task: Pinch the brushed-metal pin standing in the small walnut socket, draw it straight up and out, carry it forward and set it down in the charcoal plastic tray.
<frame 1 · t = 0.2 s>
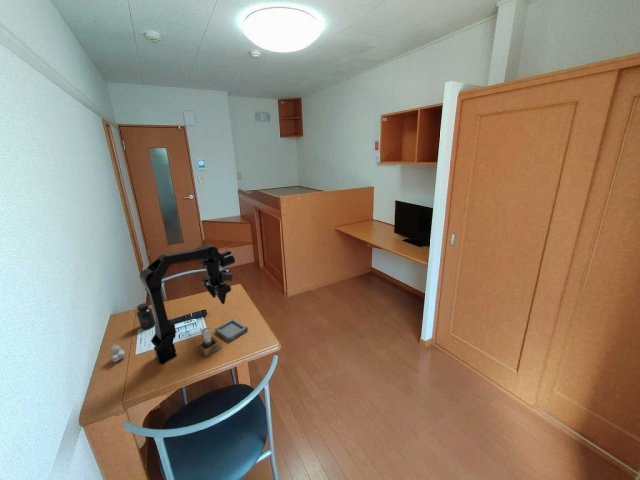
hand: (218, 300, 133), 14 cm above the table, fingers open, 9 cm apart
socket: (209, 349, 122), on the table
tray: (231, 331, 133), on the table
pin: (207, 339, 120), in the socket
grey knobbly cluster: (118, 360, 119), on the table
supplement bottle: (148, 326, 142), on the table
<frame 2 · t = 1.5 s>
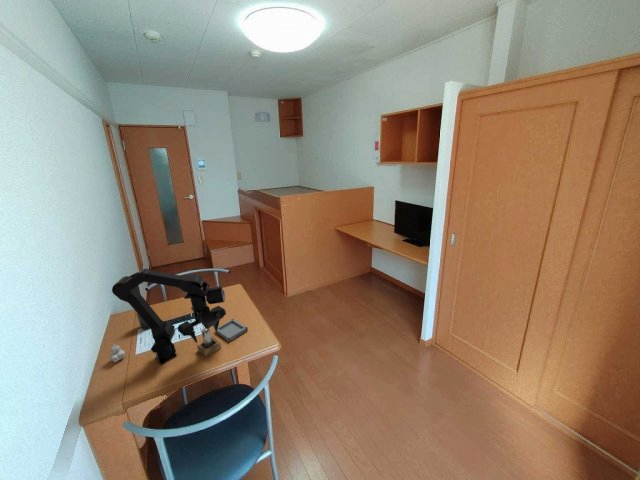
hand: (206, 336, 120), 7 cm above the table, fingers open, 9 cm apart
nothing on the table moved.
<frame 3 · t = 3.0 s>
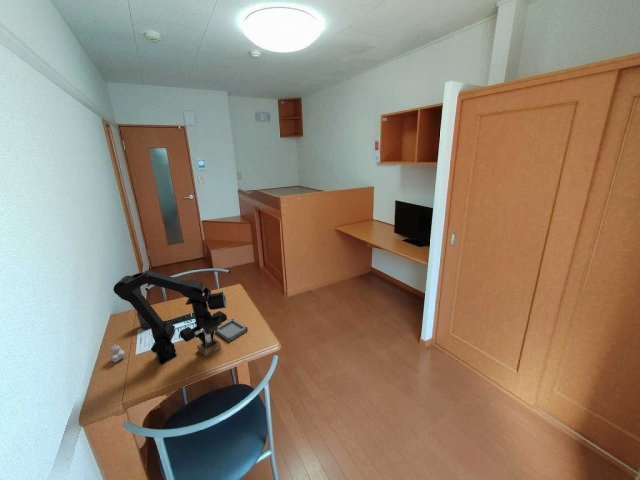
hand: (208, 341, 121), 4 cm above the table, fingers closed on pin, 3 cm apart
pin: (207, 339, 120), in the socket, touching gripper
everything else where it was.
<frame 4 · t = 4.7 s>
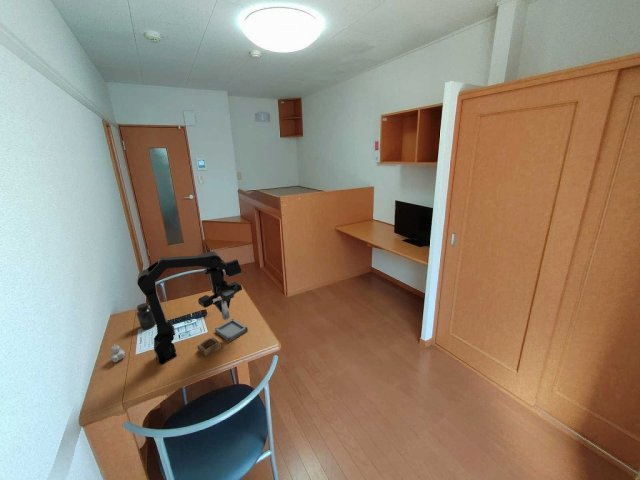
hand: (224, 310, 127), 13 cm above the table, fingers closed on pin, 3 cm apart
pin: (224, 308, 127), point 14 cm above the table, touching gripper
everything else where it was.
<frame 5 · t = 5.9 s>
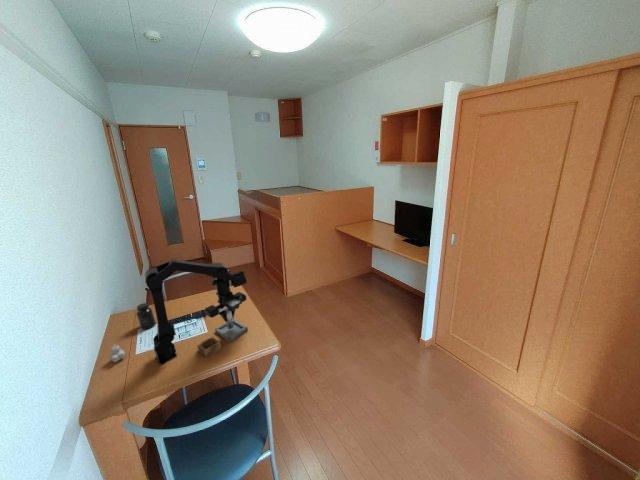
hand: (229, 319, 131), 7 cm above the table, fingers closed on pin, 3 cm apart
pin: (229, 317, 130), point 8 cm above the table, touching gripper
everything else where it was.
when the fingers open (6 cm above the table, at t = 6.7 s): pin stays where it is, resting on tray.
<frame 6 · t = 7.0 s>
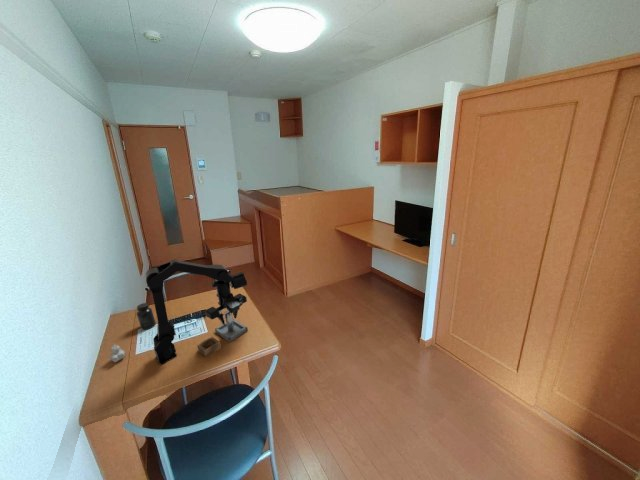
hand: (229, 321, 131), 6 cm above the table, fingers open, 6 cm apart
pin: (229, 321, 131), in the tray, point 6 cm above the table
everything else where it was.
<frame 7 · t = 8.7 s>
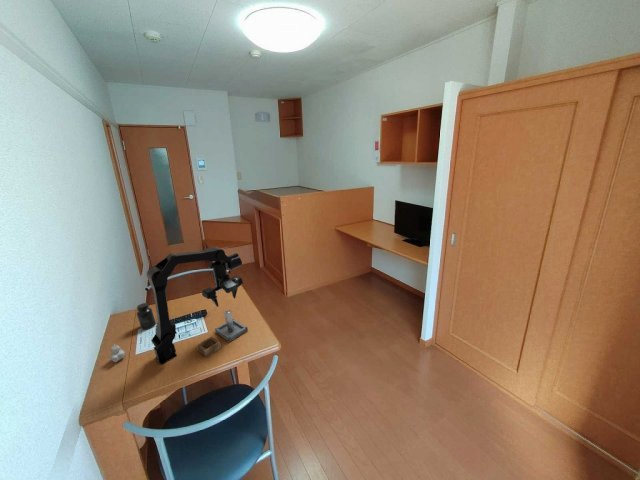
hand: (226, 302, 135), 13 cm above the table, fingers open, 9 cm apart
nothing on the table moved.
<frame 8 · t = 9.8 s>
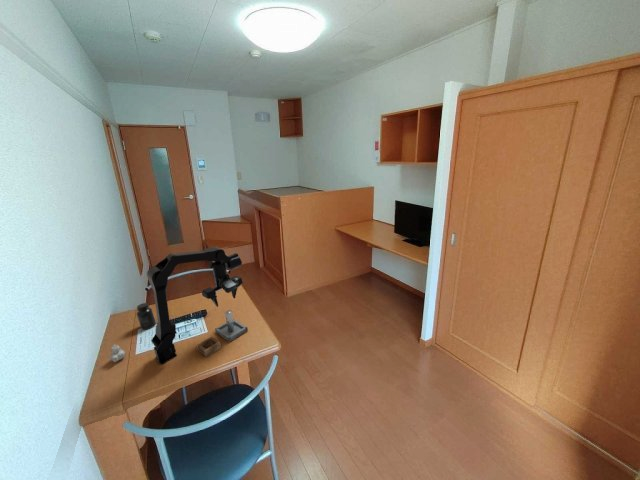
hand: (226, 302, 135), 12 cm above the table, fingers open, 9 cm apart
nothing on the table moved.
at the end: pin inside the target area on the tray (0.1 cm from its centre), point 5.8 cm above the tray's base; the gripper is holding nothing; pin touching tray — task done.
